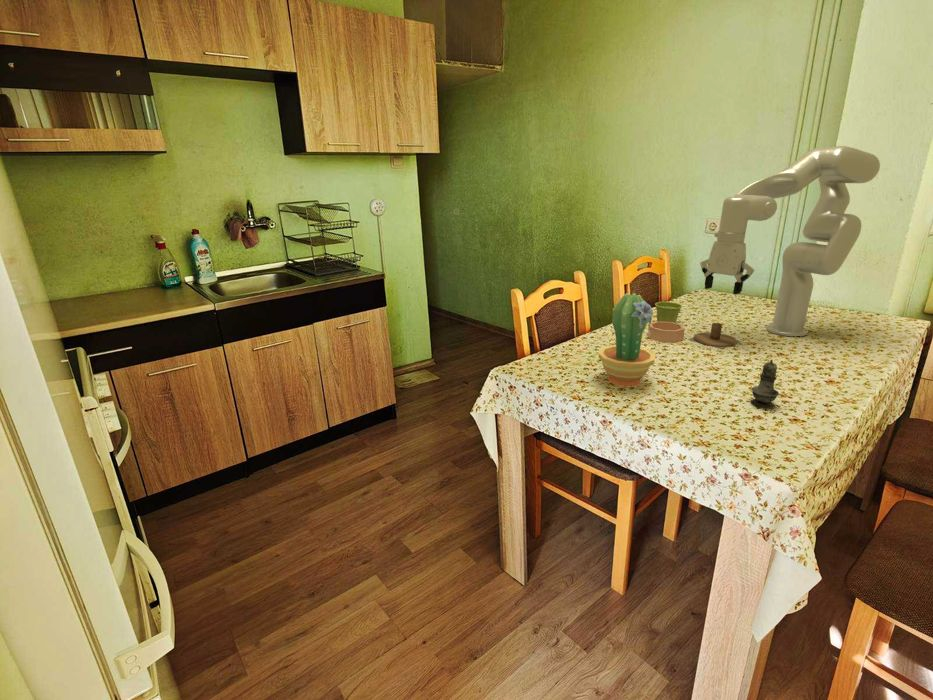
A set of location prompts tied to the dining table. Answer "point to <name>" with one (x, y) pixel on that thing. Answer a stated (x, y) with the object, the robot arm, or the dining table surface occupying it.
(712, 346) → the mat
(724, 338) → the lid
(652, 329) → the bowl
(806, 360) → the dining table surface
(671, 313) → the plant pot
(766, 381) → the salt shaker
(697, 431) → the dining table surface
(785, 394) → the dining table surface
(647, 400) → the dining table surface
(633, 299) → the potted cactus
